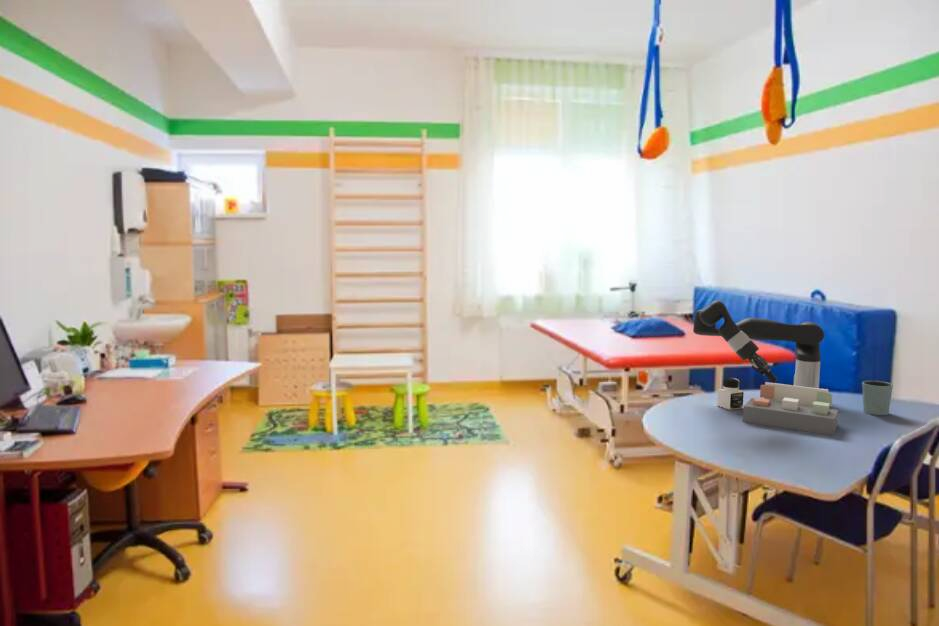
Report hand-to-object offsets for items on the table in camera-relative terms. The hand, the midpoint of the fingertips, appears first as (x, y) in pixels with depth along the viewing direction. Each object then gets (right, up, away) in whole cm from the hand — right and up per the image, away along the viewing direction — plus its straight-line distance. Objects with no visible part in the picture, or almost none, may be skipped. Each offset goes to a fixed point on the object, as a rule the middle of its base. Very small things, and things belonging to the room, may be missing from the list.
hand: (775, 381), depth 243 cm
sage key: (+13, -12, -6) cm, 19 cm away
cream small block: (+5, -11, -1) cm, 12 cm away
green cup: (+46, -14, +14) cm, 50 cm away
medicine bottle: (-8, -13, +22) cm, 27 cm away
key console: (+7, -16, +2) cm, 17 cm away
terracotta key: (-3, -12, +5) cm, 13 cm away
